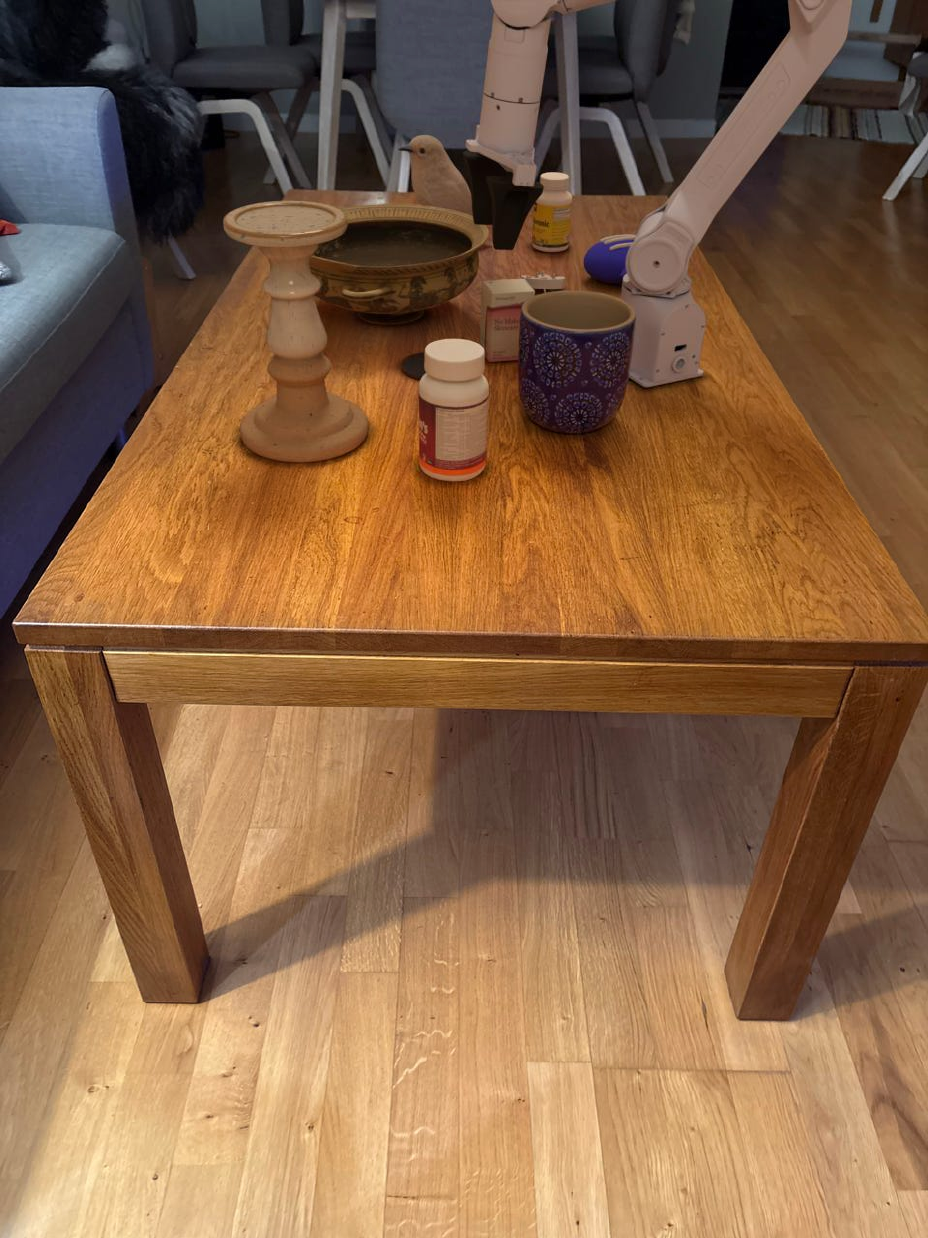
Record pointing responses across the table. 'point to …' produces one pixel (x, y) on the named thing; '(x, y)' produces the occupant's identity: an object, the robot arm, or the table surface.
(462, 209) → the bird
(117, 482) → the table surface
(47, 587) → the table surface
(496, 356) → the small box
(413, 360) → the slate coaster
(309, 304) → the candle holder
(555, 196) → the supplement bottle
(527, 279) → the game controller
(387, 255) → the ceramic bowl
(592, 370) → the planter
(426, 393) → the pill bottle
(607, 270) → the decorative object
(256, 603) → the table surface
